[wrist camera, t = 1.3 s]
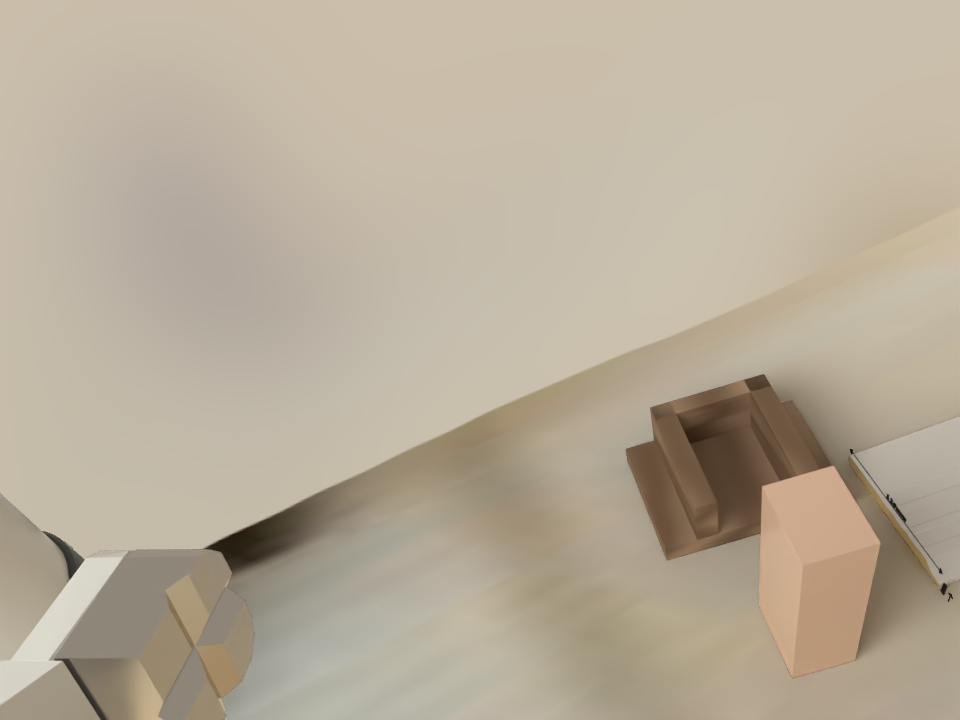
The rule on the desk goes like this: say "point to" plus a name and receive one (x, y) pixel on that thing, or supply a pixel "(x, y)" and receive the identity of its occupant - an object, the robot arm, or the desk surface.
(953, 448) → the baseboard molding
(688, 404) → the slotted wooden stand
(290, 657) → the desk surface
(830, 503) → the clay strip
